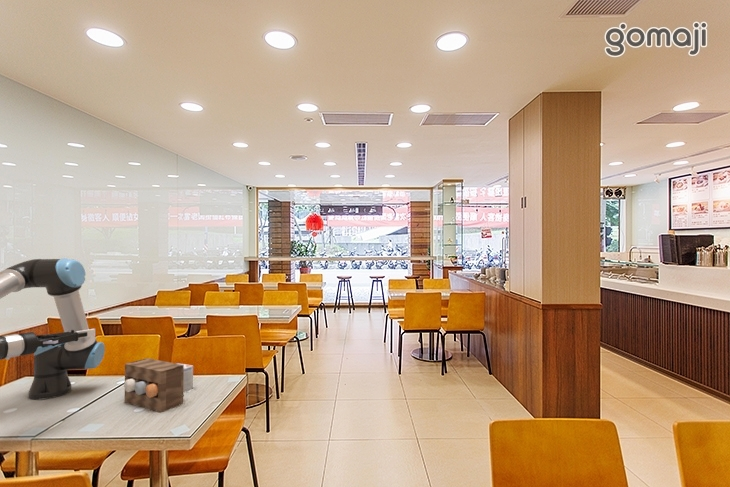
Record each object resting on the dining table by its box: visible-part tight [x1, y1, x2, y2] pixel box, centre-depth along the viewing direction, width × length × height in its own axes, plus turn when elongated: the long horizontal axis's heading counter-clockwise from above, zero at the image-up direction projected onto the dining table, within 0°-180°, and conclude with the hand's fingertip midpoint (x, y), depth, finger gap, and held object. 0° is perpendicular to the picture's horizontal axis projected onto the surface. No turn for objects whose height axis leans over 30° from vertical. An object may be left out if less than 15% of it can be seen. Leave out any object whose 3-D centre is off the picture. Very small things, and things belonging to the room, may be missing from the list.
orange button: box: [145, 383, 158, 398], centre depth 158 cm, size 5×8×5 cm, turn 153°
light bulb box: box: [175, 362, 194, 393], centre depth 180 cm, size 11×7×11 cm, turn 67°
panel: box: [124, 357, 184, 413], centre depth 163 cm, size 24×10×16 cm, turn 63°
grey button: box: [135, 380, 154, 395], centre depth 161 cm, size 5×8×5 cm, turn 153°
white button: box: [123, 378, 137, 392], centre depth 164 cm, size 5×8×5 cm, turn 153°
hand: (94, 332), depth 152 cm, fingers closed
